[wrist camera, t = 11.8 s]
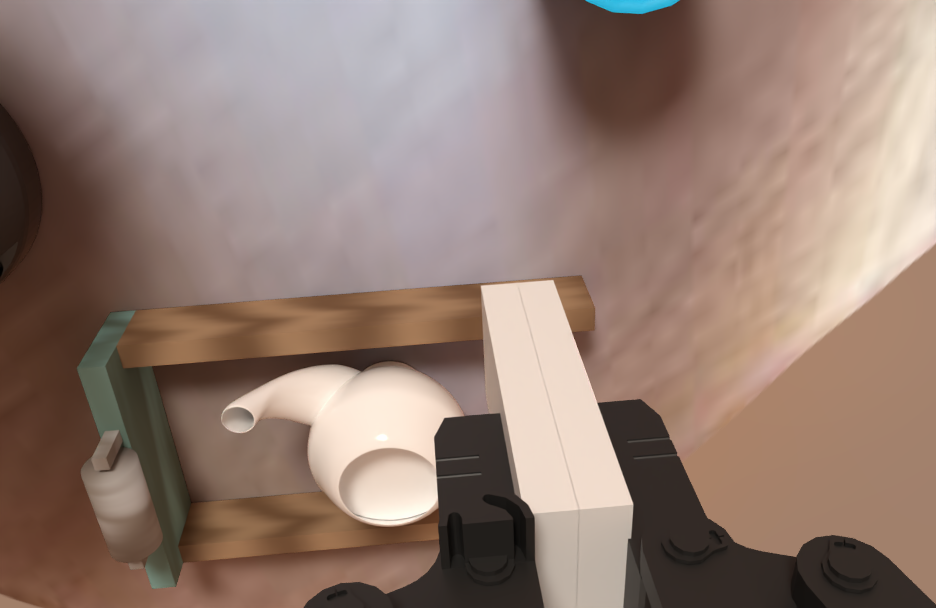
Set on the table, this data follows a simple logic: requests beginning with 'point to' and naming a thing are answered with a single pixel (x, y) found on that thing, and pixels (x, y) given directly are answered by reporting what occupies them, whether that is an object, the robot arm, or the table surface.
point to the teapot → (361, 434)
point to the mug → (632, 5)
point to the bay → (238, 337)
